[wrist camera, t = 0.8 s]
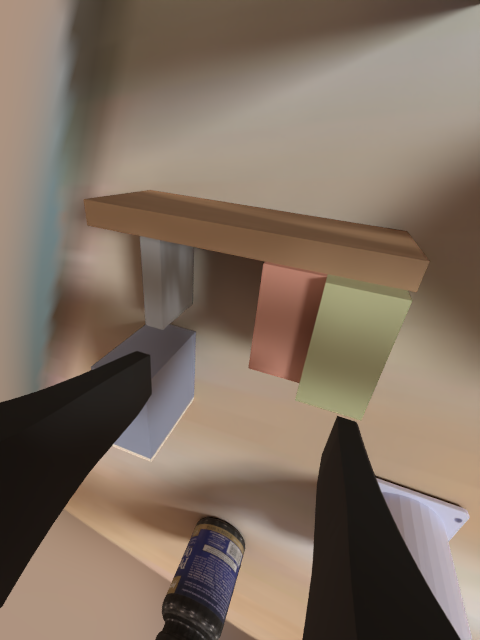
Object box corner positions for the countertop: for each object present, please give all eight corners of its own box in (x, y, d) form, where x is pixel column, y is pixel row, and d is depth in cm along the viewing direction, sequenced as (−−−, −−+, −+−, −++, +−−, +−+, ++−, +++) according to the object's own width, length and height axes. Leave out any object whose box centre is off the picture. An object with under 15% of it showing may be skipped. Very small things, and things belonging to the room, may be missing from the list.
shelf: (364, 347, 19) (368, 422, 13) (154, 294, 22) (90, 337, 17) (407, 231, 15) (436, 269, 10) (150, 190, 19) (66, 201, 13)
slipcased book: (193, 399, 26) (151, 461, 21) (155, 386, 27) (105, 443, 22) (195, 331, 23) (145, 385, 17) (152, 319, 24) (91, 366, 18)
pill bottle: (196, 508, 34) (137, 637, 25) (247, 527, 32) (204, 672, 23) (199, 538, 37) (148, 662, 28) (246, 556, 35) (208, 695, 26)
